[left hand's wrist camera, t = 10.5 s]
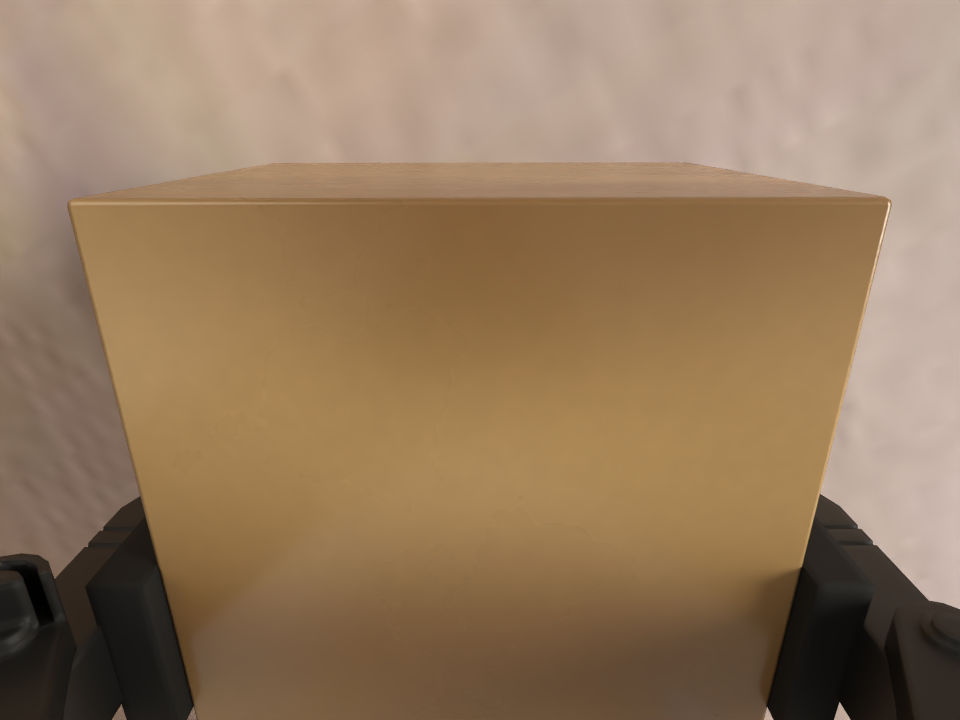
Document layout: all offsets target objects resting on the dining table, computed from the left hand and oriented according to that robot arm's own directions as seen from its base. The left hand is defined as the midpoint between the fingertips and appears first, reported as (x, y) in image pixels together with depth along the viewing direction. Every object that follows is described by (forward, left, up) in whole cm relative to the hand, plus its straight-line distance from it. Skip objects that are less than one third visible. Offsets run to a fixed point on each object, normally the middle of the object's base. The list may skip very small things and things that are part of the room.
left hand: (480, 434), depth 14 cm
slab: (+25, 0, -1) cm, 25 cm away
